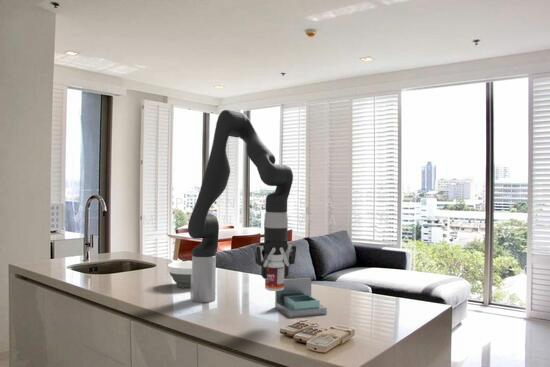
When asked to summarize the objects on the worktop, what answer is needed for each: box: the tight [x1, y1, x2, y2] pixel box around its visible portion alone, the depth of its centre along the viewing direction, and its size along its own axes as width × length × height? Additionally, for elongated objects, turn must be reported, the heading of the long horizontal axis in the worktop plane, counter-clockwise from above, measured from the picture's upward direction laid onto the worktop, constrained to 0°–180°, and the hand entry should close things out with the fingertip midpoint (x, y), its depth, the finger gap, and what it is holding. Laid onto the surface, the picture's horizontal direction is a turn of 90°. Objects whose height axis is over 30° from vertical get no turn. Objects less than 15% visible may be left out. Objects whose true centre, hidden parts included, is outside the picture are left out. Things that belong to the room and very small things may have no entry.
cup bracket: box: [274, 277, 328, 318], centre depth 157 cm, size 14×14×10 cm
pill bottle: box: [264, 255, 285, 292], centre depth 142 cm, size 6×6×11 cm
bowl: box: [167, 260, 192, 289], centre depth 197 cm, size 20×20×10 cm
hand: (274, 277), depth 142 cm, fingers closed on pill bottle, 6 cm apart
